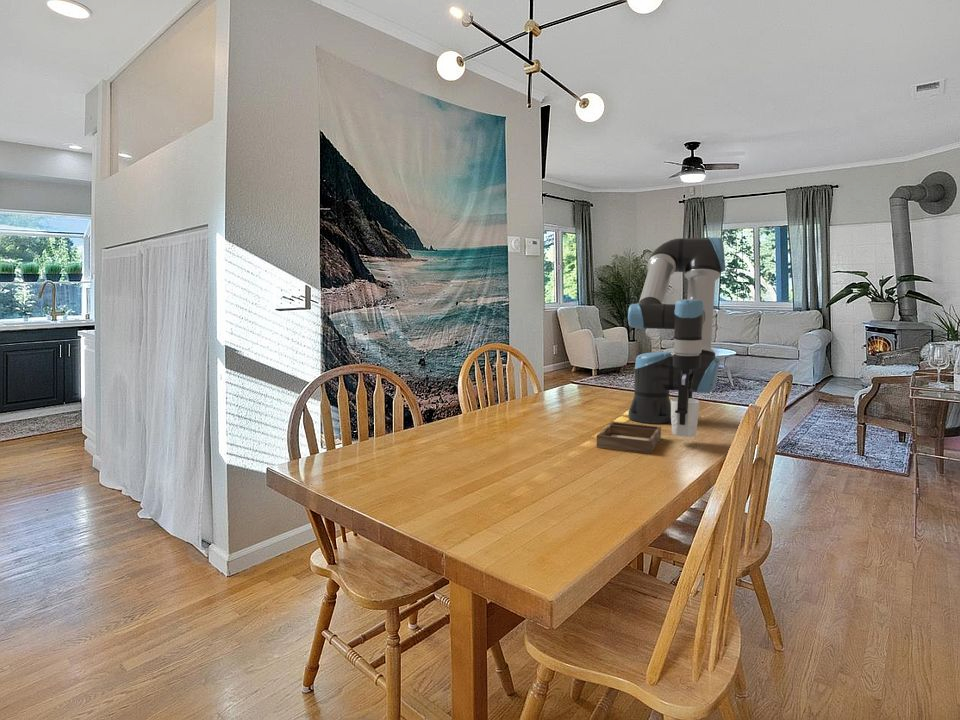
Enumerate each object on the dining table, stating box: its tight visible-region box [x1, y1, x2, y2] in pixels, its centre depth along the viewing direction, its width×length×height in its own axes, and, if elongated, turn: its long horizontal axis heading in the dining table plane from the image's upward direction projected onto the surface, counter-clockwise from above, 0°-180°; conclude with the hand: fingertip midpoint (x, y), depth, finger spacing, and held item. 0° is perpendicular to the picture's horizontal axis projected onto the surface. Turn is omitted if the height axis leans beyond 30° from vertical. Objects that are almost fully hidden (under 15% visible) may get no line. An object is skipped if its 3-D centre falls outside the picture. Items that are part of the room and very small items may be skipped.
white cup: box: [670, 396, 701, 438], centre depth 164 cm, size 8×8×10 cm
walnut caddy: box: [596, 421, 662, 455], centre depth 167 cm, size 18×15×4 cm
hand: (683, 431), depth 165 cm, fingers closed on white cup, 8 cm apart
